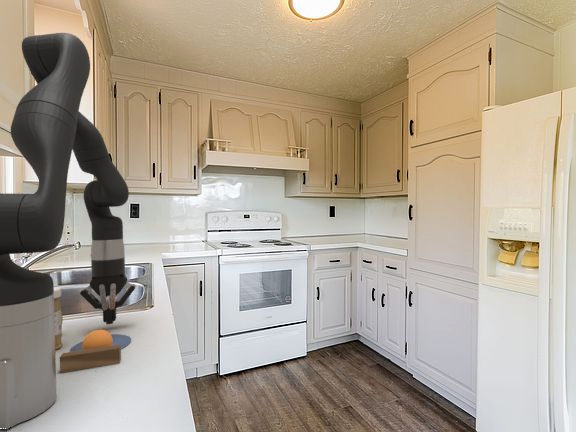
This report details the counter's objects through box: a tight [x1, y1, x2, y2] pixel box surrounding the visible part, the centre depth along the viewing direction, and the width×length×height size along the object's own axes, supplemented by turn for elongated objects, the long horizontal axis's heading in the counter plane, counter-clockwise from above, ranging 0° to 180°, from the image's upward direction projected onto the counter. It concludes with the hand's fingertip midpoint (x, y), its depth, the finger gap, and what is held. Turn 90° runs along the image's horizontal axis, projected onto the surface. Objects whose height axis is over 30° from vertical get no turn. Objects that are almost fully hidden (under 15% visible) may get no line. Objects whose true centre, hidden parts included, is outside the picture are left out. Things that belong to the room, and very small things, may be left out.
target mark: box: [69, 333, 132, 352], centre depth 71 cm, size 12×12×1 cm
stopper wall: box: [59, 344, 122, 374], centre depth 62 cm, size 2×10×3 cm, turn 111°
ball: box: [82, 329, 113, 350], centre depth 66 cm, size 6×6×6 cm
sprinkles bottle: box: [53, 286, 63, 351], centre depth 70 cm, size 5×5×14 cm
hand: (109, 323), depth 81 cm, fingers closed
